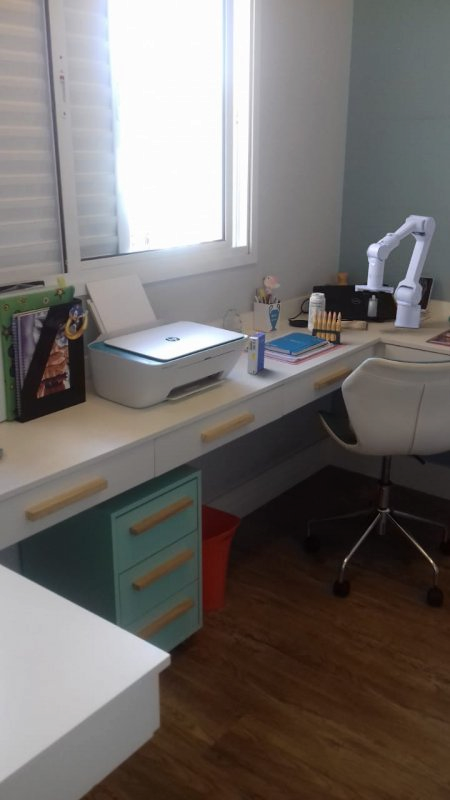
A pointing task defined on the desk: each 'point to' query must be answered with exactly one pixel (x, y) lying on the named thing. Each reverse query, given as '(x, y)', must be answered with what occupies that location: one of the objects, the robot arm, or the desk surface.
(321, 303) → the energy drink can
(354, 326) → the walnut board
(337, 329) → the ammunition clip
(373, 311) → the connector
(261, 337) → the purple white carton box
